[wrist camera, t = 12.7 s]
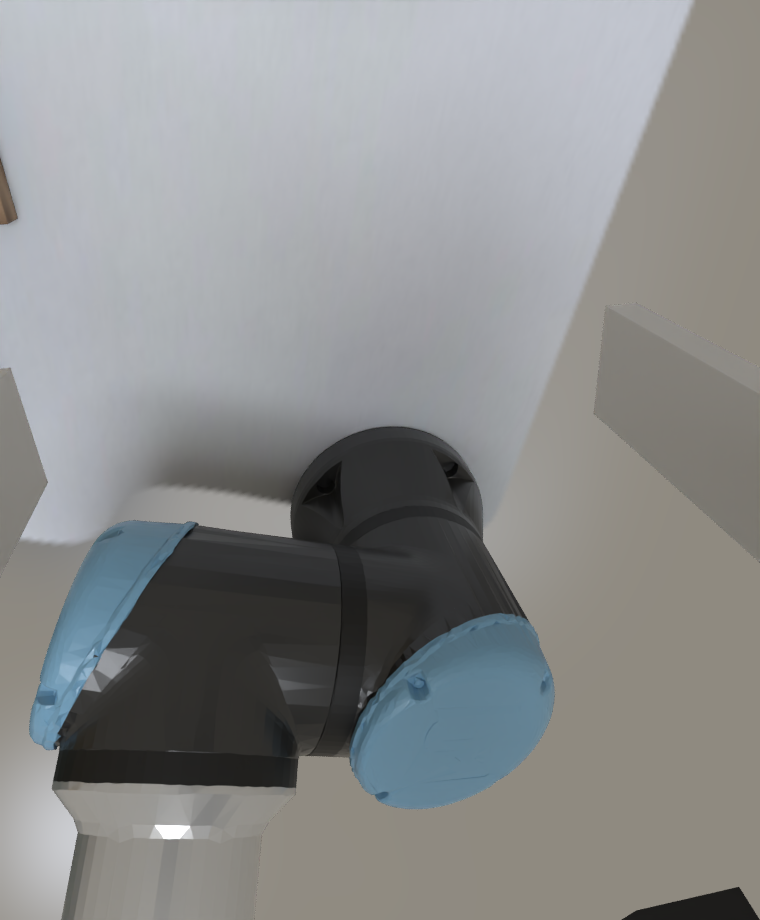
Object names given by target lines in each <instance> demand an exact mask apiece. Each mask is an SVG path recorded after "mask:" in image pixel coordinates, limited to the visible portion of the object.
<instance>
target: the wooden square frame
mask: <svg viewBox="0 0 760 920" xmlns="http://www.w3.org/2000/svg"><path fill="white" fill-rule="evenodd" d="M16 219H18V218H17V215H16V211H15V208H14V204H13V201H12V197H11V194H10V190H9V187H8V183H7V180H6V176H5V173H4V170H3V166H2V163H1V159H0V224H8V223H10V222H12V221H14V220H16Z"/></svg>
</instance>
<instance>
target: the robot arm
mask: <svg viewBox="0 0 760 920" xmlns="http://www.w3.org/2000/svg"><path fill="white" fill-rule="evenodd" d="M595 398H596V399H595V407H594V414H595V415H596V416H597V417H598V418H599V419H600V420H601V421H602V422H604V423H605V424H606V425H607V426H608V427H609V428H610V429H611V430H612V431H614V432H615V433H616V434H617V435H618V436H619V437H620V438H621V439H623V440H624V441H625V442H626V443H627V444H628V445H629V446H630V447H632V449H634V450H635V451H636V452H637V453H638V454H639V455H640V456H641V457H643V458H644V459H645V460H646V461H647V462H648V463H649V464H650V465H651V466H653V467H654V468H655V469H656V470H657V471H658V472H659V473H660V474H661V475H663V476H664V477H665V478H666V479H667V480H668V481H669V482H670V483H671V484H673V485H674V486H675V487H676V488H677V489H678V490H679V491H680V492H682V493H683V494H684V495H685V496H686V497H687V498H688V499H689V500H690V501H692V502H693V503H694V504H695V505H696V506H697V507H698V508H699V509H700V510H702V511H703V512H704V513H705V514H706V515H707V516H708V517H709V518H711V519H712V520H713V521H714V522H715V523H716V524H717V525H718V526H719V527H720V528H722V529H723V530H724V531H725V532H726V533H727V534H728V535H729V536H730V537H732V538H733V539H734V540H735V541H736V542H737V543H738V544H740V546H742V547H743V548H744V549H745V550H746V551H747V552H748V553H750V554H751V555H752V556H753V557H754V558H755V559H756V560H757V561H758V562H760V367H759V366H757V365H755V364H753V363H751V362H749V361H747V360H745V359H744V358H742V357H740V356H738V355H736V354H734V353H732V352H730V351H728V350H726V349H724V348H722V347H720V346H719V345H717V344H715V343H713V342H711V341H709V340H707V339H705V338H703V337H701V336H699V335H697V334H696V333H694V332H692V331H690V330H688V329H686V328H684V327H682V326H680V325H678V324H676V323H674V322H672V321H671V320H669V319H667V318H665V317H663V316H661V315H659V314H657V313H655V312H653V311H651V310H649V309H647V308H645V307H643V306H642V305H640V304H638V303H629V304H618V305H609V306H605V315H604V324H603V333H602V343H601V351H600V361H599V370H598V379H597V388H596V397H595ZM47 483H48V481H47V478H46V475H45V472H44V469H43V466H42V463H41V460H40V457H39V454H38V451H37V448H36V445H35V442H34V439H33V435H32V432H31V429H30V426H29V423H28V420H27V417H26V414H25V411H24V408H23V405H22V402H21V399H20V396H19V393H18V390H17V386H16V383H15V380H14V377H13V374H12V371H11V368H3V369H0V577H1V575H2V573H3V571H4V569H5V567H6V565H7V563H8V561H9V559H10V557H11V555H12V553H13V551H14V549H15V547H16V545H17V543H18V541H19V539H20V537H21V535H22V533H23V531H24V529H25V527H26V525H27V523H28V521H29V519H30V517H31V515H32V513H33V511H34V509H35V507H36V505H37V503H38V501H39V499H40V497H41V495H42V493H43V491H44V489H45V487H46V485H47ZM291 529H292V537H293V538H286V537H278V536H271V535H263V534H254V533H246V532H239V531H231V530H225V529H218V528H212V527H205V526H198V523H195V522H187V523H185V524H176V523H161V522H147V521H136V520H133V521H125V522H122V523H118V524H116V525H114V526H112V527H110V528H108V529H107V530H106V531H105V532H103V533H102V534H101V535H100V536H99V537H98V539H97V540H96V541H95V543H94V544H93V545H92V547H91V549H90V550H89V552H88V553H87V555H86V557H85V559H84V561H83V563H82V564H81V567H80V569H79V571H78V573H77V575H76V577H75V579H74V582H73V584H72V586H71V589H70V591H69V594H68V596H67V598H66V601H65V603H64V606H63V608H62V611H61V614H60V616H59V619H58V622H57V624H56V627H55V630H54V633H53V636H52V639H51V642H50V645H49V648H48V651H47V654H46V657H45V660H44V664H43V668H42V671H41V675H40V681H41V683H40V685H39V687H38V691H37V695H36V698H35V701H34V704H33V706H32V711H31V716H30V726H29V727H30V728H29V732H30V736H31V738H32V739H33V741H34V742H35V743H37V744H39V745H42V746H43V747H44V748H45V749H46V750H54V749H55V750H56V749H57V747H58V746H60V748H59V756H58V760H57V765H56V770H55V775H54V780H53V785H52V790H53V791H54V792H55V794H56V795H57V797H58V798H59V799H60V801H61V802H62V803H63V805H64V806H65V808H66V809H67V810H68V812H69V813H70V814H71V816H72V817H73V818H74V822H75V824H76V828H77V831H78V834H77V840H76V845H75V850H74V856H73V861H72V866H71V871H70V877H69V882H68V888H67V893H66V898H65V904H64V909H63V913H62V919H61V920H254V919H255V918H254V917H255V907H256V896H257V884H258V873H259V861H260V850H261V838H262V833H263V832H264V830H265V828H266V826H267V824H268V823H269V821H270V820H271V819H272V818H273V817H274V816H275V815H276V814H277V813H278V812H279V811H280V810H281V809H282V808H283V807H284V806H285V805H286V804H287V803H288V802H289V801H290V800H291V799H292V798H293V797H294V796H295V794H296V781H297V768H298V758H299V756H328V757H349V758H350V766H351V767H352V771H353V772H354V775H355V777H356V778H357V779H358V780H359V782H360V784H361V786H362V787H363V789H364V790H365V791H366V792H368V793H369V794H371V795H375V797H376V799H377V800H378V801H379V802H381V803H383V804H386V805H388V806H392V807H396V808H404V809H428V808H434V807H440V806H445V805H449V804H452V803H455V802H458V801H461V800H463V799H466V798H468V797H471V796H473V795H475V794H477V793H479V792H481V791H483V790H485V789H487V788H489V787H490V786H491V785H493V784H494V783H495V782H496V781H498V780H499V779H501V778H503V777H504V776H506V775H508V774H509V773H510V772H511V771H513V770H514V769H515V768H516V767H517V766H518V765H520V763H521V762H522V761H523V760H524V759H525V758H526V757H527V756H528V755H529V754H530V753H531V752H532V750H533V749H534V748H535V746H536V745H537V744H538V742H539V741H540V739H541V737H542V736H543V734H544V732H545V730H546V728H547V726H548V723H549V721H550V718H551V715H552V711H553V705H554V697H555V695H554V693H555V692H554V682H553V678H552V674H551V671H550V669H549V666H548V664H547V662H546V659H545V657H544V655H543V653H542V650H541V648H540V645H539V639H538V635H537V633H536V632H535V630H534V627H532V625H531V624H530V623H529V621H528V619H527V617H526V616H525V614H524V612H523V610H522V609H521V607H520V606H519V603H518V602H517V600H516V598H515V597H514V595H513V593H512V591H511V590H510V588H509V586H508V585H507V583H506V581H505V579H504V578H503V576H502V574H501V572H500V571H499V569H498V567H497V565H496V564H495V562H494V560H493V559H492V557H491V555H490V553H489V552H488V550H487V548H486V547H485V545H484V543H483V507H482V500H481V495H480V492H479V488H478V485H477V483H476V481H475V479H474V477H473V475H472V473H471V472H470V470H469V469H468V467H467V465H466V464H465V462H464V461H463V459H462V458H461V457H460V455H459V454H458V453H457V452H456V451H455V450H454V449H453V448H452V447H451V446H449V445H448V444H447V443H445V442H444V441H442V440H441V439H439V438H437V437H435V436H433V435H431V434H428V433H425V432H423V431H419V430H415V429H410V428H402V427H385V428H377V429H371V430H367V431H363V432H360V433H357V434H354V435H352V436H349V437H347V438H345V439H343V440H341V441H339V442H337V443H336V444H334V445H333V446H331V447H330V448H328V449H327V450H326V451H324V452H323V453H322V454H321V455H320V456H319V457H318V458H317V459H316V460H315V461H314V462H313V463H312V464H311V465H310V466H309V468H308V469H307V470H306V471H305V473H304V475H303V476H302V478H301V480H300V481H299V483H298V486H297V488H296V490H295V493H294V496H293V500H292V505H291ZM622 920H760V919H759V918H758V916H757V915H756V913H755V912H754V910H753V908H752V907H751V905H750V904H749V902H748V900H747V899H746V897H745V896H744V894H743V892H742V891H741V889H740V888H739V887H737V888H732V889H728V890H724V891H719V892H715V893H711V894H706V895H702V896H698V897H693V898H689V899H685V900H681V901H676V902H672V903H667V904H663V905H659V906H654V907H650V908H646V909H641V910H637V911H635V912H633V913H632V914H630V915H628V916H627V917H625V918H624V919H622Z"/></svg>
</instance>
